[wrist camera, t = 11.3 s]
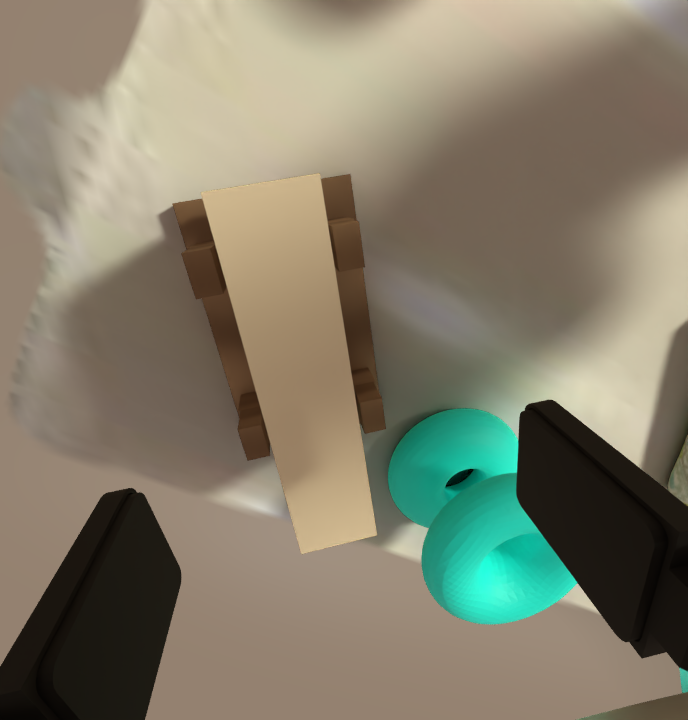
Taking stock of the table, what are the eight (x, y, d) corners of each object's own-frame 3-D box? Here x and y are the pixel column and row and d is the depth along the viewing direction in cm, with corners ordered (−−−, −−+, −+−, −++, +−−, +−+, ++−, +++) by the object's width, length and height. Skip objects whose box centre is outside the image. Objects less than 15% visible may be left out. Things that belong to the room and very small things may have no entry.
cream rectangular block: (226, 193, 18) (200, 192, 11) (303, 181, 18) (319, 173, 11) (293, 457, 24) (301, 554, 17) (349, 445, 24) (377, 535, 18)
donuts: (396, 615, 20) (517, 473, 18) (358, 485, 29) (434, 378, 27) (527, 649, 24) (644, 533, 21) (456, 523, 33) (532, 431, 30)
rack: (177, 203, 20) (148, 205, 15) (346, 175, 21) (367, 169, 16) (249, 440, 26) (245, 491, 22) (378, 411, 27) (400, 455, 22)
